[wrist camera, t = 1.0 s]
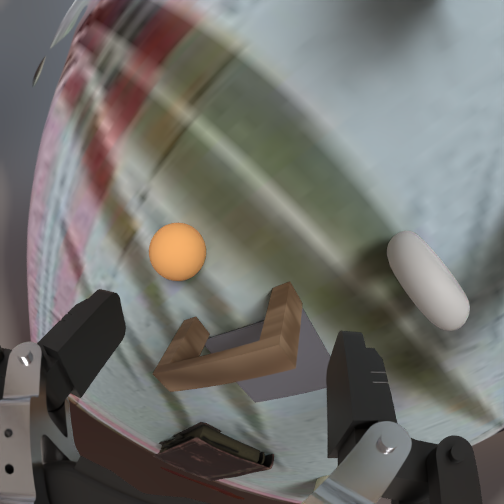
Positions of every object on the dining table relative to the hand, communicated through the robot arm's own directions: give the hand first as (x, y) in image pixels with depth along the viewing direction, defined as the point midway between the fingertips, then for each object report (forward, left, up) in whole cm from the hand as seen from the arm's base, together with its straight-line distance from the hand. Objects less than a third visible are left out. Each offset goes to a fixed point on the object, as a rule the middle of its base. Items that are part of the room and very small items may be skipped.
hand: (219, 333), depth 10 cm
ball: (+10, 0, -15) cm, 18 cm away
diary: (+39, +43, -19) cm, 61 cm away
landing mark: (+10, +19, -18) cm, 28 cm away
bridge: (+10, +10, -18) cm, 23 cm away
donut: (-10, +11, -18) cm, 23 cm away
